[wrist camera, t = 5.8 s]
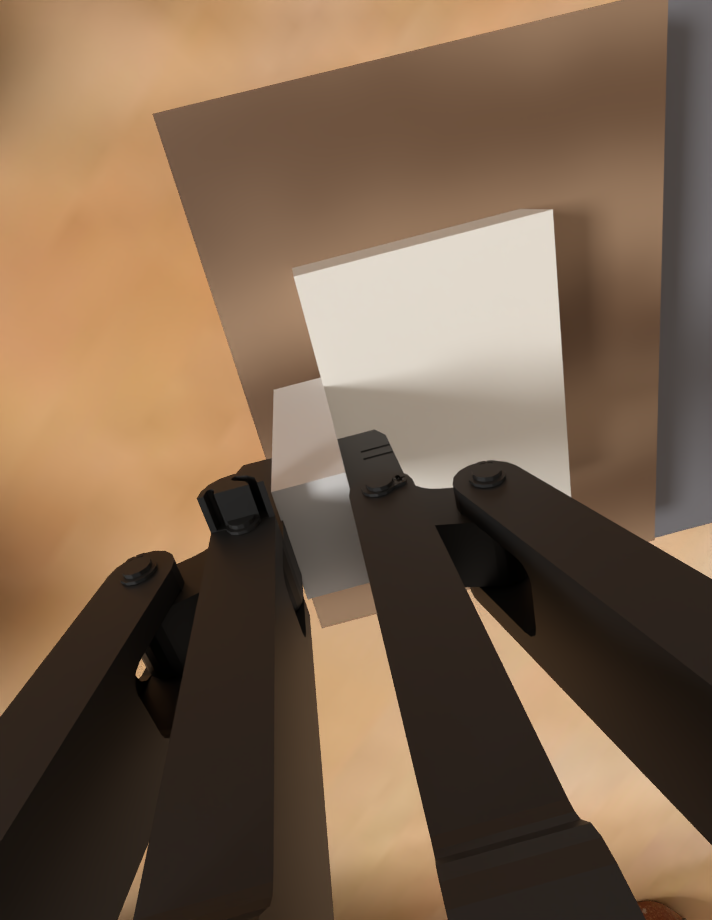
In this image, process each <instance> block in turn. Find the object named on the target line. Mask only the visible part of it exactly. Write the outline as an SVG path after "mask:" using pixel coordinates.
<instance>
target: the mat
mask: <svg viewBox="0 0 712 920" xmlns="http://www.w3.org/2000/svg"><path fill="white" fill-rule="evenodd" d="M709 523H712V0H668V28H667V67H666V107H665V146H664V186H663V225H662V265H661V304H660V344H659V383H658V423H657V462H656V502H655V538H656V537H660V536H663V535H667V534H671V533H675V532H678V531H682V530H686V529H690V528H693V527H697V526H701V525H705V524H709Z"/></svg>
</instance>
